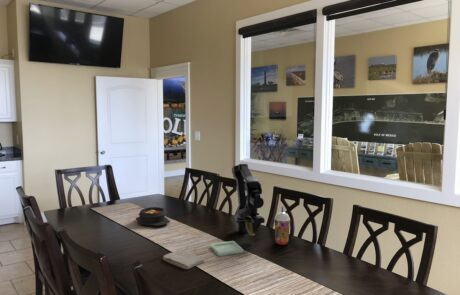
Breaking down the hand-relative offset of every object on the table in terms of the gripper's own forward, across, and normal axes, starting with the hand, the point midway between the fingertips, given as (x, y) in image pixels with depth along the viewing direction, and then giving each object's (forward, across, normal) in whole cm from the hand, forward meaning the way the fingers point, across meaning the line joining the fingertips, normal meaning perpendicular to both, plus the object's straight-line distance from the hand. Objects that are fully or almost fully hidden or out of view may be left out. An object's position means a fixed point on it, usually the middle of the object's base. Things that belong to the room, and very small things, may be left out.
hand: (251, 231), depth 198 cm
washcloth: (+6, +11, -41) cm, 43 cm away
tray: (+6, +6, -17) cm, 19 cm away
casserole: (+6, -53, -44) cm, 69 cm away
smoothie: (+6, +8, +14) cm, 17 cm away
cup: (+2, 0, 0) cm, 2 cm away
